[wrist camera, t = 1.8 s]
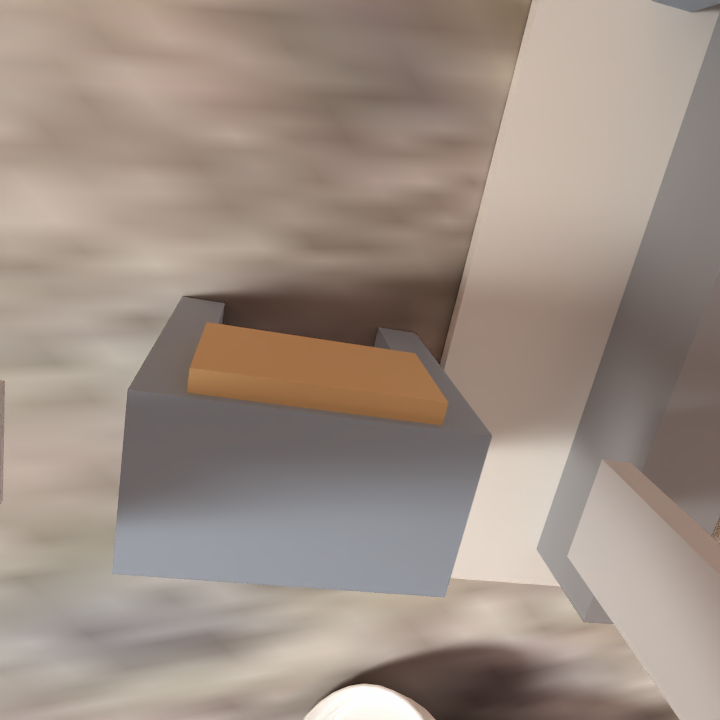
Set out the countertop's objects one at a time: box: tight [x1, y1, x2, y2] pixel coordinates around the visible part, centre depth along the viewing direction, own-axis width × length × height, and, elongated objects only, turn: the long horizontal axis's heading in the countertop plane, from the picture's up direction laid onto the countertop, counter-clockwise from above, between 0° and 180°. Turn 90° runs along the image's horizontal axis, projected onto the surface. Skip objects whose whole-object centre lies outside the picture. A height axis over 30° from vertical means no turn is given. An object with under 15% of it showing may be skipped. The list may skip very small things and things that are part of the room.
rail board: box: [440, 0, 720, 624], centre depth 16 cm, size 11×27×4 cm, turn 169°
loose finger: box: [112, 297, 492, 597], centre depth 15 cm, size 7×4×7 cm, turn 79°
